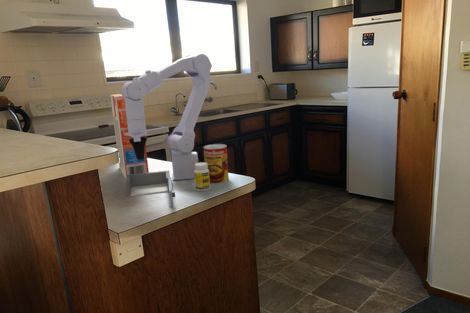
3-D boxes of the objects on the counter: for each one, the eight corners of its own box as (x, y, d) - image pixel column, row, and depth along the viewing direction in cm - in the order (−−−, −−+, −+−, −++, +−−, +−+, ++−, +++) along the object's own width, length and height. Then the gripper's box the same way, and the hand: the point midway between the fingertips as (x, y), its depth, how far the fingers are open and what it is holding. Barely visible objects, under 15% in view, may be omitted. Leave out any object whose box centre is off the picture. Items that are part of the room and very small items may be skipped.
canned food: (202, 183, 127) (200, 148, 125) (210, 176, 135) (207, 144, 132) (224, 183, 125) (222, 148, 123) (231, 177, 133) (229, 143, 130)
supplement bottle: (204, 192, 118) (202, 166, 116) (192, 190, 121) (190, 164, 119) (213, 187, 122) (211, 162, 120) (201, 186, 124) (199, 161, 123)
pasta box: (149, 177, 138) (140, 95, 132) (126, 181, 135) (116, 97, 129) (139, 164, 159) (130, 93, 152) (119, 167, 156) (110, 94, 149)
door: (169, 191, 120) (168, 177, 119) (174, 190, 120) (173, 177, 119) (170, 206, 106) (168, 191, 105) (176, 205, 106) (174, 190, 105)
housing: (170, 182, 130) (169, 170, 129) (171, 191, 121) (170, 177, 120) (128, 187, 127) (127, 174, 126) (126, 196, 118) (124, 182, 117)
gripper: (125, 117, 129) (129, 155, 132) (121, 122, 115) (126, 165, 118) (145, 115, 131) (150, 153, 134) (145, 120, 117) (149, 163, 120)
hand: (140, 159), depth 126 cm, fingers closed
